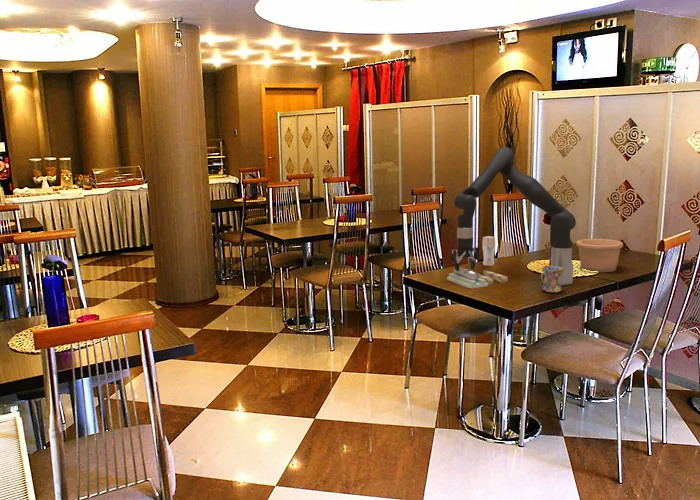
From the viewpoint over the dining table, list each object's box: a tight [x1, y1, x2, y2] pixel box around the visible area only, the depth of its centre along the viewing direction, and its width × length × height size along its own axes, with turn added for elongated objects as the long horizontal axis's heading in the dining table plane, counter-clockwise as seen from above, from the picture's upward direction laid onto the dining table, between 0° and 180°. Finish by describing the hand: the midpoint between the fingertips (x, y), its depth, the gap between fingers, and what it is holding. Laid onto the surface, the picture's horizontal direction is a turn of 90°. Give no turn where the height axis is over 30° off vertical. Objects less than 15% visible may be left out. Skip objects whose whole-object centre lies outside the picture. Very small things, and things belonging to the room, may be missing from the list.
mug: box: [540, 265, 564, 294], centre depth 262 cm, size 12×9×11 cm
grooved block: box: [446, 272, 489, 289], centre depth 282 cm, size 20×10×3 cm, turn 22°
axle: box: [453, 266, 480, 281], centre depth 282 cm, size 16×4×4 cm, turn 22°
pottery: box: [575, 238, 624, 273], centre depth 300 cm, size 22×22×14 cm
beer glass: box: [481, 235, 496, 266], centre depth 319 cm, size 7×7×15 cm
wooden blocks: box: [478, 270, 509, 286], centre depth 286 cm, size 16×11×2 cm
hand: (464, 269), depth 283 cm, fingers open, 8 cm apart
